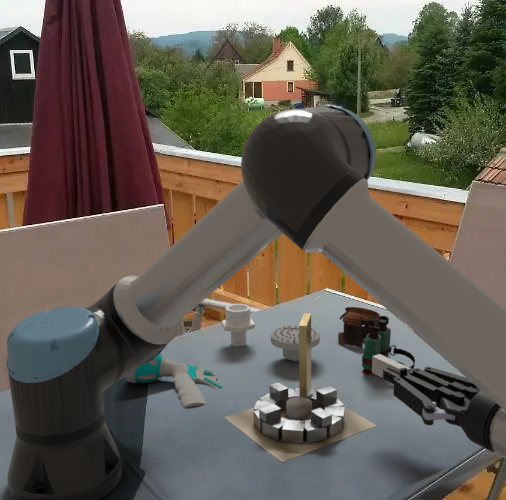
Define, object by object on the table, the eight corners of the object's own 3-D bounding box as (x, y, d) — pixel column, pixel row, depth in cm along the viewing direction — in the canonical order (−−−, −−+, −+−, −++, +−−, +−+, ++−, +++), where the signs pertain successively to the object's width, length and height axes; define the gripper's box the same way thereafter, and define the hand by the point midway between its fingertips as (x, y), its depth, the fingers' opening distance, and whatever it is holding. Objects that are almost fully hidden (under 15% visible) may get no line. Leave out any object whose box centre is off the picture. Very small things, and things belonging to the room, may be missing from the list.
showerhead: (268, 339, 122) (272, 320, 132) (269, 375, 124) (272, 354, 134) (319, 340, 121) (319, 321, 131) (319, 376, 123) (319, 355, 133)
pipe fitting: (216, 344, 140) (214, 308, 138) (241, 335, 144) (240, 300, 143) (235, 352, 135) (234, 315, 133) (261, 343, 140) (260, 307, 138)
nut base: (282, 469, 93) (281, 441, 92) (224, 424, 106) (223, 398, 105) (376, 432, 103) (377, 406, 102) (313, 394, 116) (313, 371, 115)
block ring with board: (340, 446, 96) (341, 356, 93) (246, 438, 99) (243, 350, 96) (348, 393, 113) (349, 315, 109) (267, 387, 116) (266, 311, 112)
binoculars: (411, 340, 114) (357, 325, 119) (403, 395, 117) (351, 378, 122) (427, 324, 121) (375, 310, 126) (419, 376, 124) (369, 361, 129)
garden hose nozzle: (241, 386, 112) (211, 334, 130) (137, 393, 106) (121, 337, 124) (237, 422, 114) (208, 366, 132) (135, 431, 108) (120, 371, 126)
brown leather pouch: (325, 341, 141) (333, 304, 143) (357, 352, 146) (365, 316, 148) (363, 344, 131) (371, 304, 133) (397, 355, 136) (404, 316, 138)
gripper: (470, 469, 80) (342, 396, 100) (536, 437, 87) (405, 375, 106) (474, 412, 79) (343, 349, 98) (541, 385, 85) (406, 331, 105)
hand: (375, 363), depth 102 cm, fingers closed
